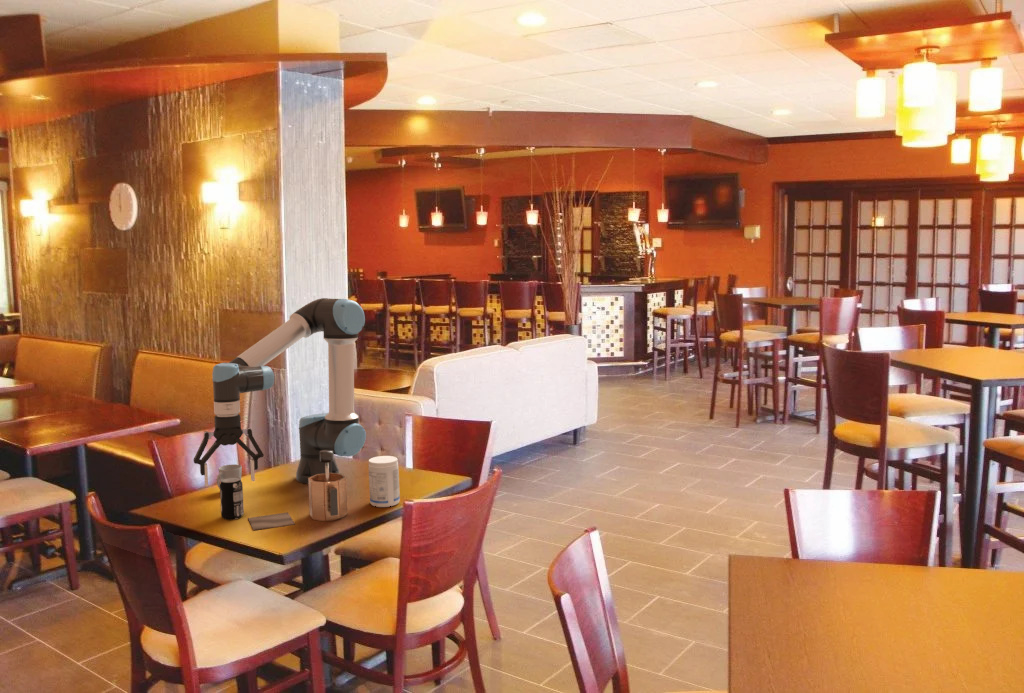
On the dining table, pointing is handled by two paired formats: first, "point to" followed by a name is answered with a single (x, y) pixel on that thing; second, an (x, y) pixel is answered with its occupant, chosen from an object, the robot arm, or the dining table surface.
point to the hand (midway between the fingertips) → (229, 482)
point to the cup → (228, 472)
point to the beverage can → (231, 498)
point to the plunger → (326, 460)
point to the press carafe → (328, 497)
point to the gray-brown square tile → (271, 521)
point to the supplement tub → (384, 481)
